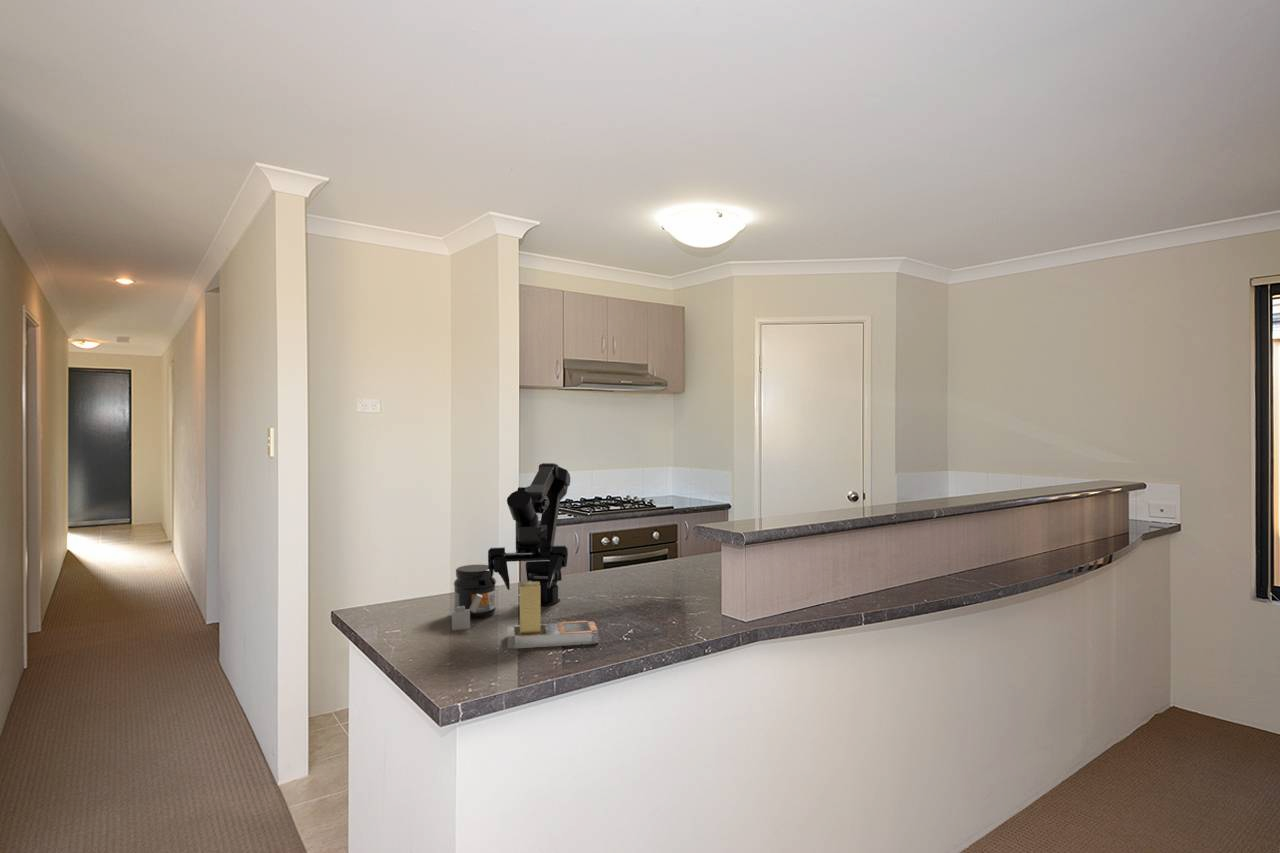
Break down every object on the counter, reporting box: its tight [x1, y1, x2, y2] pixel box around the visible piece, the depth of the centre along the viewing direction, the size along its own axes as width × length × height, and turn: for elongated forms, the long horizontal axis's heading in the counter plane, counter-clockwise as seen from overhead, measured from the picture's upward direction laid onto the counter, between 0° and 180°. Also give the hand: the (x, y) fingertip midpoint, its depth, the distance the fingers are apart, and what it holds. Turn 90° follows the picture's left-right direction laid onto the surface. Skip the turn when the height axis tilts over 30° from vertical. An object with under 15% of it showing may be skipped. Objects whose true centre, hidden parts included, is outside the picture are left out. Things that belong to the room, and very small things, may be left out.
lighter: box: [451, 594, 483, 631], centre depth 171 cm, size 7×2×8 cm, turn 110°
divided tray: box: [506, 620, 599, 650], centre depth 162 cm, size 20×9×3 cm, turn 101°
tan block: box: [519, 581, 542, 636], centre depth 161 cm, size 4×4×13 cm
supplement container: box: [453, 563, 497, 620], centre depth 183 cm, size 10×10×12 cm
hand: (528, 588), depth 165 cm, fingers open, 9 cm apart
